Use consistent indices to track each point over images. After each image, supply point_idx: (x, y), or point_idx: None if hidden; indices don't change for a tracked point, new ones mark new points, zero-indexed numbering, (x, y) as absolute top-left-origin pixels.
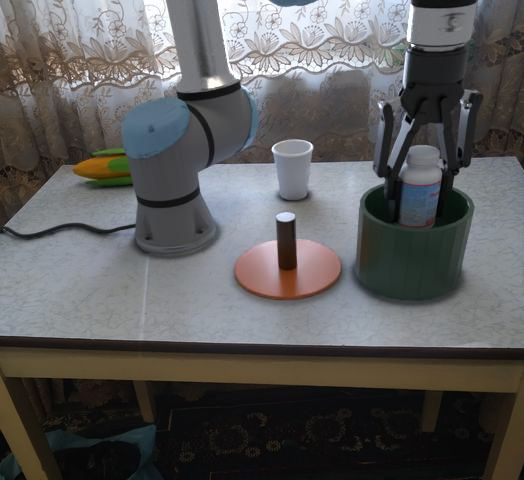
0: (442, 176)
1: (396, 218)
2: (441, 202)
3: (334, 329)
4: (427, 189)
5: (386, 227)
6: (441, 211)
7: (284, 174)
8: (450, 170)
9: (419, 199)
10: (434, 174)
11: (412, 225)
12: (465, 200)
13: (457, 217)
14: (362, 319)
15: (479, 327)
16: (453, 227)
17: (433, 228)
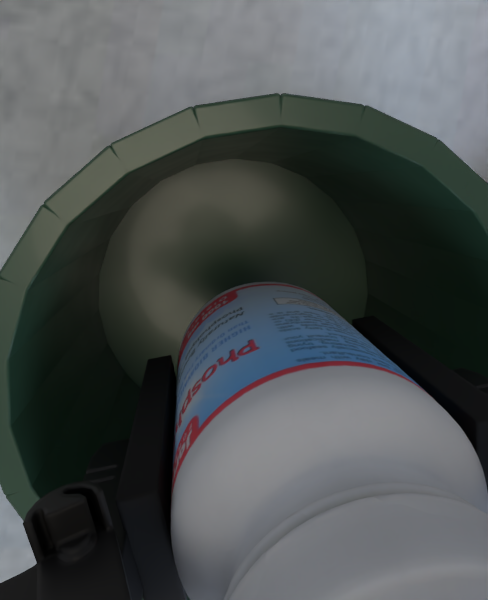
0: (163, 503)
1: (367, 323)
2: (157, 389)
3: (476, 34)
4: (292, 353)
5: (473, 173)
6: (152, 369)
7: None
8: (103, 534)
9: (317, 326)
10: (264, 444)
11: (294, 287)
12: (18, 437)
13: (66, 416)
14: (394, 77)
15: (64, 4)
16: (132, 134)
17: (249, 119)
